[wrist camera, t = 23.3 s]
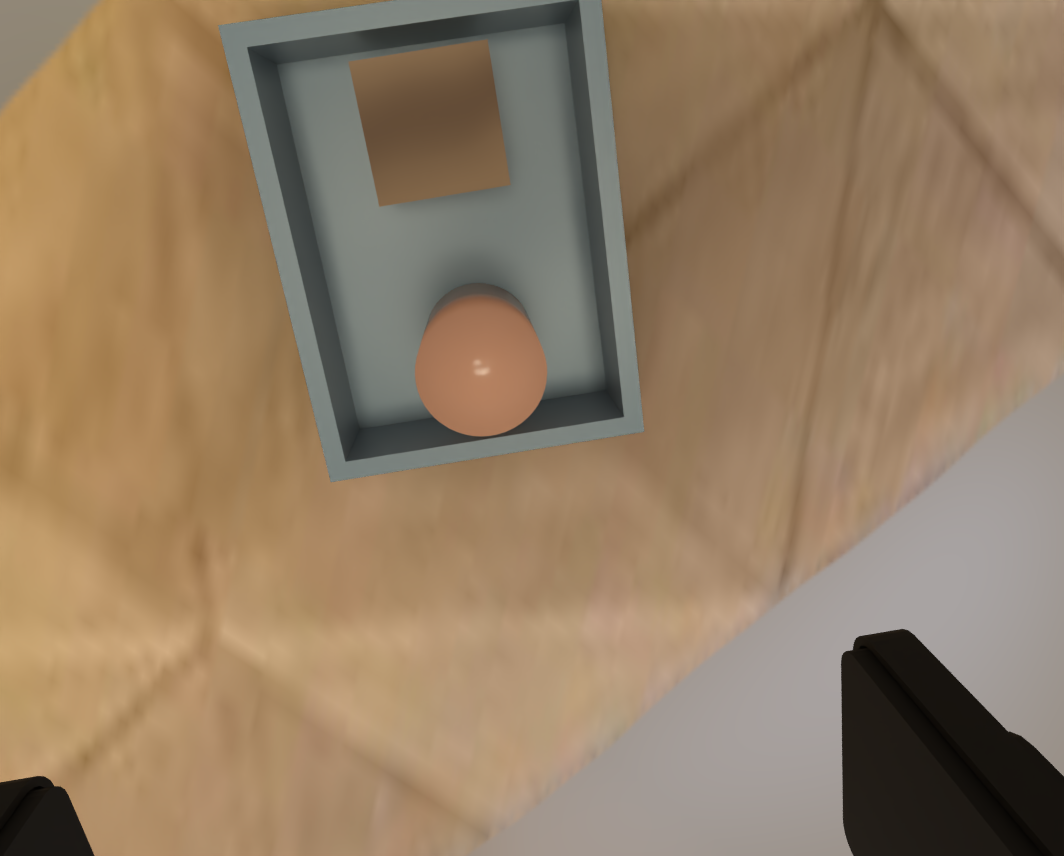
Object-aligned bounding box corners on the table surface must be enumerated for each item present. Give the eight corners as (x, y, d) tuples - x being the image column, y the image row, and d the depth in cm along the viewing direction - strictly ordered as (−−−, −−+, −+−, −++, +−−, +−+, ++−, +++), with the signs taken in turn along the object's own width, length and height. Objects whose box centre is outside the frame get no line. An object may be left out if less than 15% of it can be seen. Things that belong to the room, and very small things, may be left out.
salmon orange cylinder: (524, 394, 36) (536, 443, 30) (420, 382, 36) (408, 428, 29) (540, 291, 35) (556, 317, 28) (431, 276, 34) (422, 299, 28)
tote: (579, 1, 32) (598, -29, 27) (622, 399, 37) (644, 431, 33) (255, 48, 31) (218, 25, 27) (348, 443, 37) (330, 482, 32)
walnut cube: (504, 183, 33) (510, 185, 29) (392, 202, 33) (379, 206, 28) (484, 59, 32) (487, 39, 27) (366, 78, 32) (348, 61, 27)
